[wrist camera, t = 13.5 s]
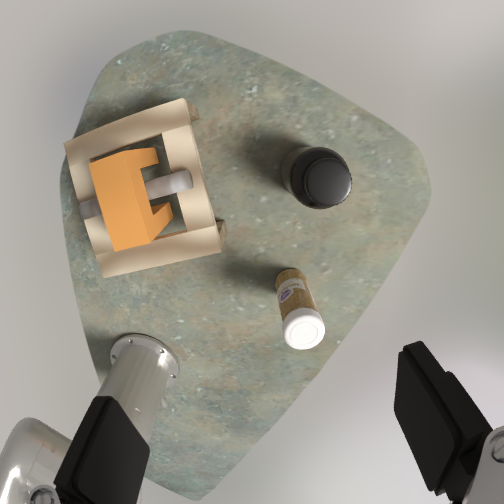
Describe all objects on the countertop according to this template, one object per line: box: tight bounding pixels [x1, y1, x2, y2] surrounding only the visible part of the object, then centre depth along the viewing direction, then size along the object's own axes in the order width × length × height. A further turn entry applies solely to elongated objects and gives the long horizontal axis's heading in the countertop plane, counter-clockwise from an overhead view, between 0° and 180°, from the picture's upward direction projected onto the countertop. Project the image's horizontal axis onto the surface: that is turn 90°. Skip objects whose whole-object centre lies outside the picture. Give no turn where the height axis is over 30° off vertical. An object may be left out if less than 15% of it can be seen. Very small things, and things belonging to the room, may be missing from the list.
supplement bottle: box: [281, 147, 352, 209], centre depth 34 cm, size 7×7×12 cm
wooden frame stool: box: [64, 98, 227, 278], centre depth 35 cm, size 17×15×11 cm
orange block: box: [89, 147, 174, 252], centre depth 32 cm, size 9×4×10 cm, turn 12°
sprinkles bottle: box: [275, 269, 325, 349], centre depth 39 cm, size 5×5×13 cm
